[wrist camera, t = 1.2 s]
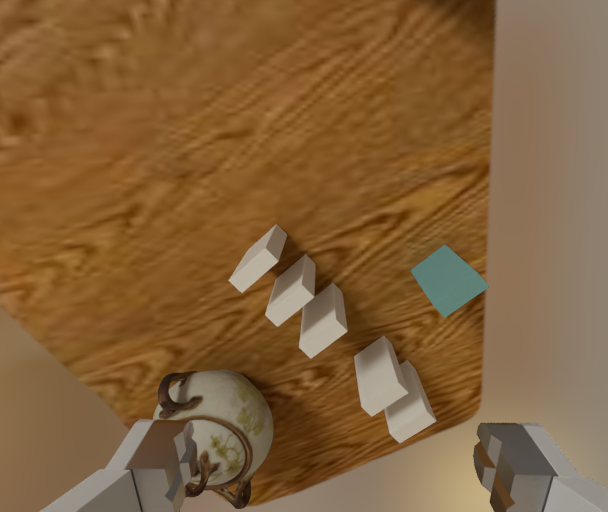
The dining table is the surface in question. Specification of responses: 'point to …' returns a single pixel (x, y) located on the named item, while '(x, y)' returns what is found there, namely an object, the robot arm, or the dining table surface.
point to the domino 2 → (292, 290)
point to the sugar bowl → (220, 428)
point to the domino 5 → (409, 407)
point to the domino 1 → (259, 259)
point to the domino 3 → (322, 321)
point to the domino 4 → (379, 376)
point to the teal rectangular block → (448, 280)
